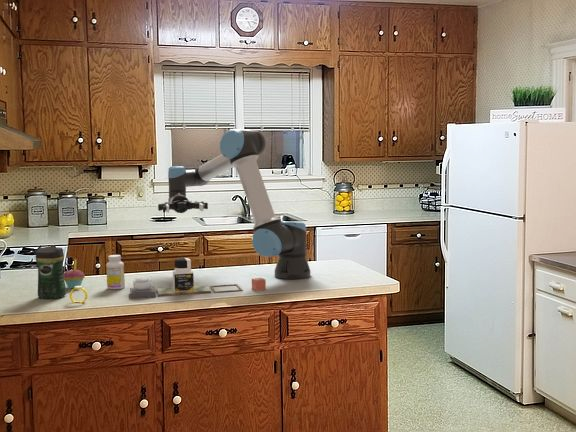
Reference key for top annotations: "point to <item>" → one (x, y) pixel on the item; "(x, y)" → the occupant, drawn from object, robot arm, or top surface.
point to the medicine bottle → (183, 275)
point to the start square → (225, 285)
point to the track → (171, 292)
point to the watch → (81, 289)
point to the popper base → (142, 293)
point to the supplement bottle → (115, 272)
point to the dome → (142, 284)
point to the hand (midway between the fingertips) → (185, 208)
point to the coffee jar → (50, 272)
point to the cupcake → (73, 277)
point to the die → (258, 284)
